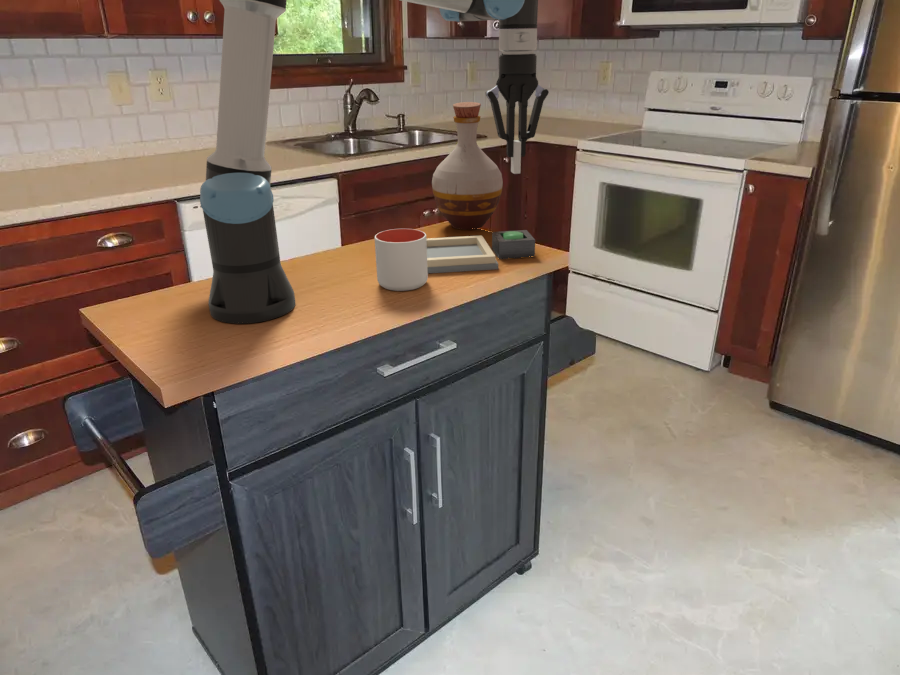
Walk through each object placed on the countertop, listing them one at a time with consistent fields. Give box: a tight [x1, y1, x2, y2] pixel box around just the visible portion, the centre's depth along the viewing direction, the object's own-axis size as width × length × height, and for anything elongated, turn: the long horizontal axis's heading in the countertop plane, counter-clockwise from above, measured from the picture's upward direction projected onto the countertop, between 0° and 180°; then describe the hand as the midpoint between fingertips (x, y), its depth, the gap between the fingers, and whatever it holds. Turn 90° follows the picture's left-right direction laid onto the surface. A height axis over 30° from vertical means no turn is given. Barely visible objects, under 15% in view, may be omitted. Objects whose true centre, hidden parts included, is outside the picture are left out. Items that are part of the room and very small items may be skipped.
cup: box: [374, 228, 429, 292], centre depth 130 cm, size 10×10×10 cm
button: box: [503, 230, 523, 240], centre depth 148 cm, size 4×4×3 cm
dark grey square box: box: [491, 229, 536, 260], centre depth 149 cm, size 8×8×4 cm
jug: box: [431, 101, 504, 230], centre depth 166 cm, size 20×18×30 cm
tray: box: [426, 235, 499, 274], centre depth 146 cm, size 17×17×3 cm
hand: (515, 172), depth 142 cm, fingers closed
